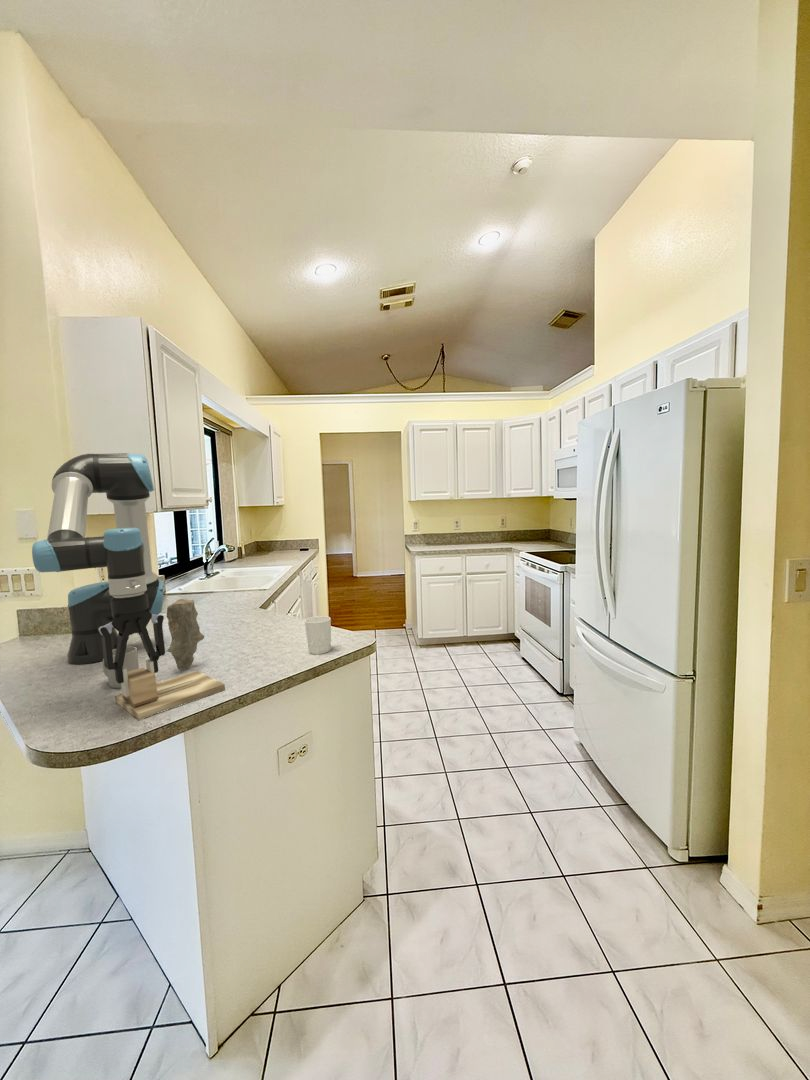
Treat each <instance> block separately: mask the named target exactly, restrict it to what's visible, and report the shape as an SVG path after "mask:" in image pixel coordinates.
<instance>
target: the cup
mask: <svg viewBox="0 0 810 1080" xmlns="http://www.w3.org/2000/svg"><path fill="white" fill-rule="evenodd" d="M112 653H113V663H114V660H115V655H116V649H114V650H112ZM139 664H140V663H139V656H138V648H137V647H136V646H126V652H125V658H124V664H123V667H125V668H126V669H127V672H128V671H132V670H136V669H139V668H140V666H139ZM101 665H102V671H103V673H104V675H105V676H106V677H107V679H108V686H109V687H110V688H111V689H122V687H121V683H120V684H119V683H117V681H116V677H115V670H109V669H107V668H106V667H105V666H104V659H103V661H102V664H101Z"/></svg>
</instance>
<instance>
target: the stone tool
mask: <svg viewBox="0 0 810 1080" xmlns="http://www.w3.org/2000/svg"><path fill="white" fill-rule="evenodd" d="M166 609H167V610H166V619H167V620H168V622H167V624H168V630H169V633H170V636H171V643H170V645H169V647H168V649H167V650H166V652H168V653H171V655H172V657H173V659H174V660H175V664H176V668H177V669H178V671H183V670H188V669H189V668H190V667H191V666H192V664H193V662H194V661H195V659H194V658H195V657H194V654H195V653H196V652H197V648H198V644H199V642H200V641H203V640H204V639H205V635H204V634H203V633H201V631H200V626H199V623H198V620H197V617H198V614H199V613H198V611H197V609H196V607H195V601H194V600H193V599H184V598H181V599H177V600H176V601H175V602H173V603H172V604H170V605H168V606H167V608H166Z"/></svg>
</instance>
